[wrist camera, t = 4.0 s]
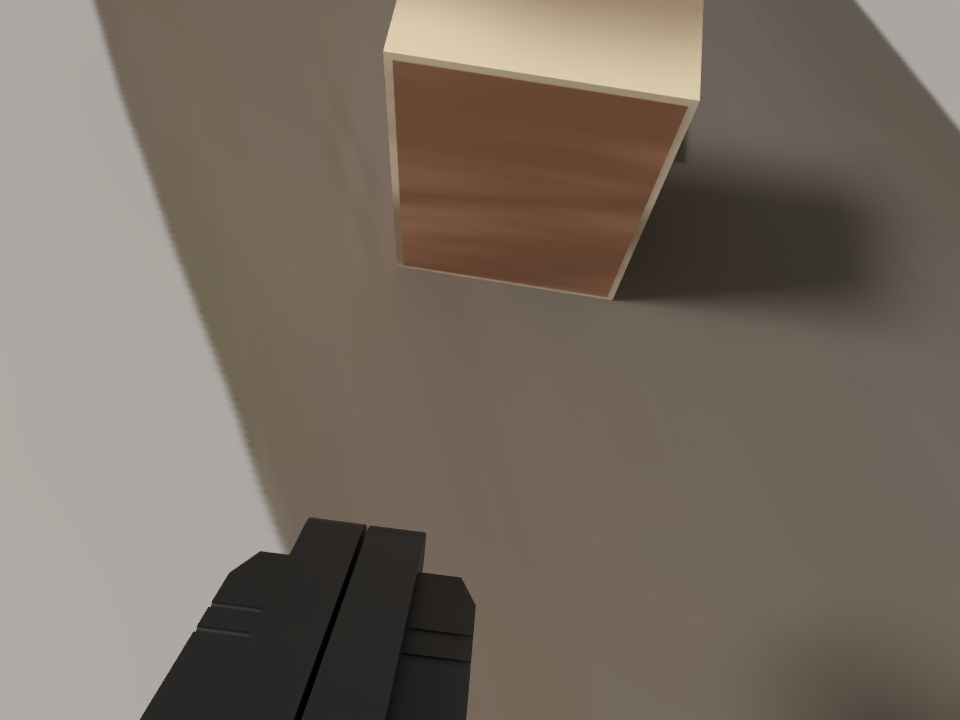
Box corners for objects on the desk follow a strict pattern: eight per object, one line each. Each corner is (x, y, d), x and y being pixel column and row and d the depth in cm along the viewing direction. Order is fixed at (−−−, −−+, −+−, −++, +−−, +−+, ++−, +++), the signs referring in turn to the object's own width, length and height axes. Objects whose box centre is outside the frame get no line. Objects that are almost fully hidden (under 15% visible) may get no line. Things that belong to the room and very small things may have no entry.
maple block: (612, 301, 25) (699, 101, 17) (397, 267, 25) (383, 52, 17) (622, 176, 27) (705, -54, 19) (424, 145, 27) (423, -98, 19)
